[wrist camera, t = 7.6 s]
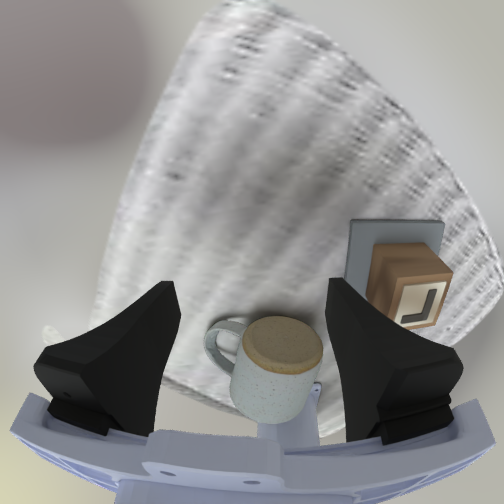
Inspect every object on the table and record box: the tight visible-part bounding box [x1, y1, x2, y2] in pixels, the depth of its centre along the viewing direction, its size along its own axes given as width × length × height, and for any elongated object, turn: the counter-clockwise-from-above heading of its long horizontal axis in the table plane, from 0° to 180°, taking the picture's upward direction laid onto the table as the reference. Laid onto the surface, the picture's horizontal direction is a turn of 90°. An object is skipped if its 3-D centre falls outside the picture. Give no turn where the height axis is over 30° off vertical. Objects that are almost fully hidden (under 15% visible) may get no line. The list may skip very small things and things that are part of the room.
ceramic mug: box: [204, 316, 323, 424], centre depth 23 cm, size 11×8×8 cm
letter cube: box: [365, 242, 453, 330], centre depth 19 cm, size 5×5×5 cm
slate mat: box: [344, 220, 445, 301], centre depth 22 cm, size 9×9×1 cm
